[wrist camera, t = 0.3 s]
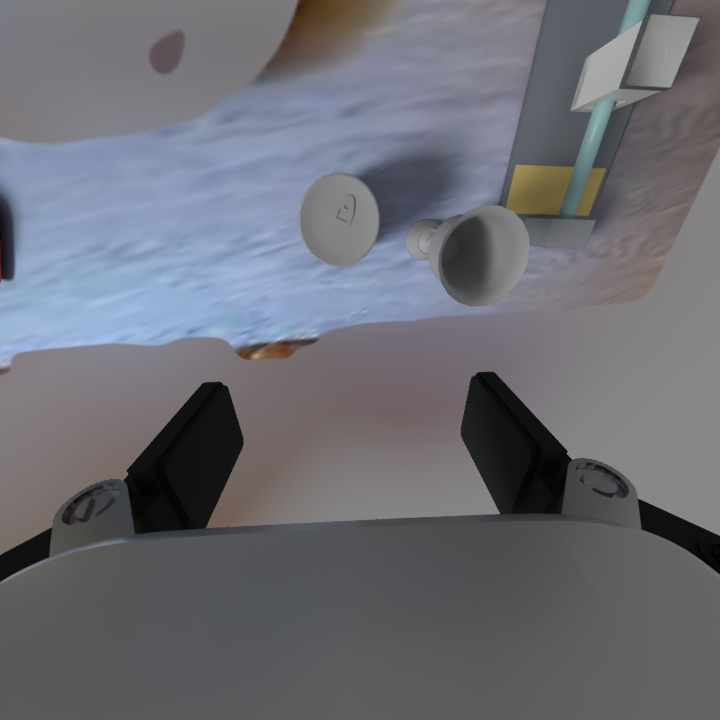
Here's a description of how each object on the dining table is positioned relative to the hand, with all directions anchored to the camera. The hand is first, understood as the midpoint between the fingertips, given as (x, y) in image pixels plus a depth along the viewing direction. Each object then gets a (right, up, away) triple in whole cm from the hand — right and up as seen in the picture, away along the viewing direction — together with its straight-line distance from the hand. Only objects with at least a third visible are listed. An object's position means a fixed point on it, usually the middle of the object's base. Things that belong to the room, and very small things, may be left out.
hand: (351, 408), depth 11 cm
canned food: (-2, +20, +24) cm, 31 cm away
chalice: (+9, +18, +26) cm, 33 cm away
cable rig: (+24, +29, +20) cm, 43 cm away
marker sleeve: (+24, +30, +17) cm, 42 cm away
